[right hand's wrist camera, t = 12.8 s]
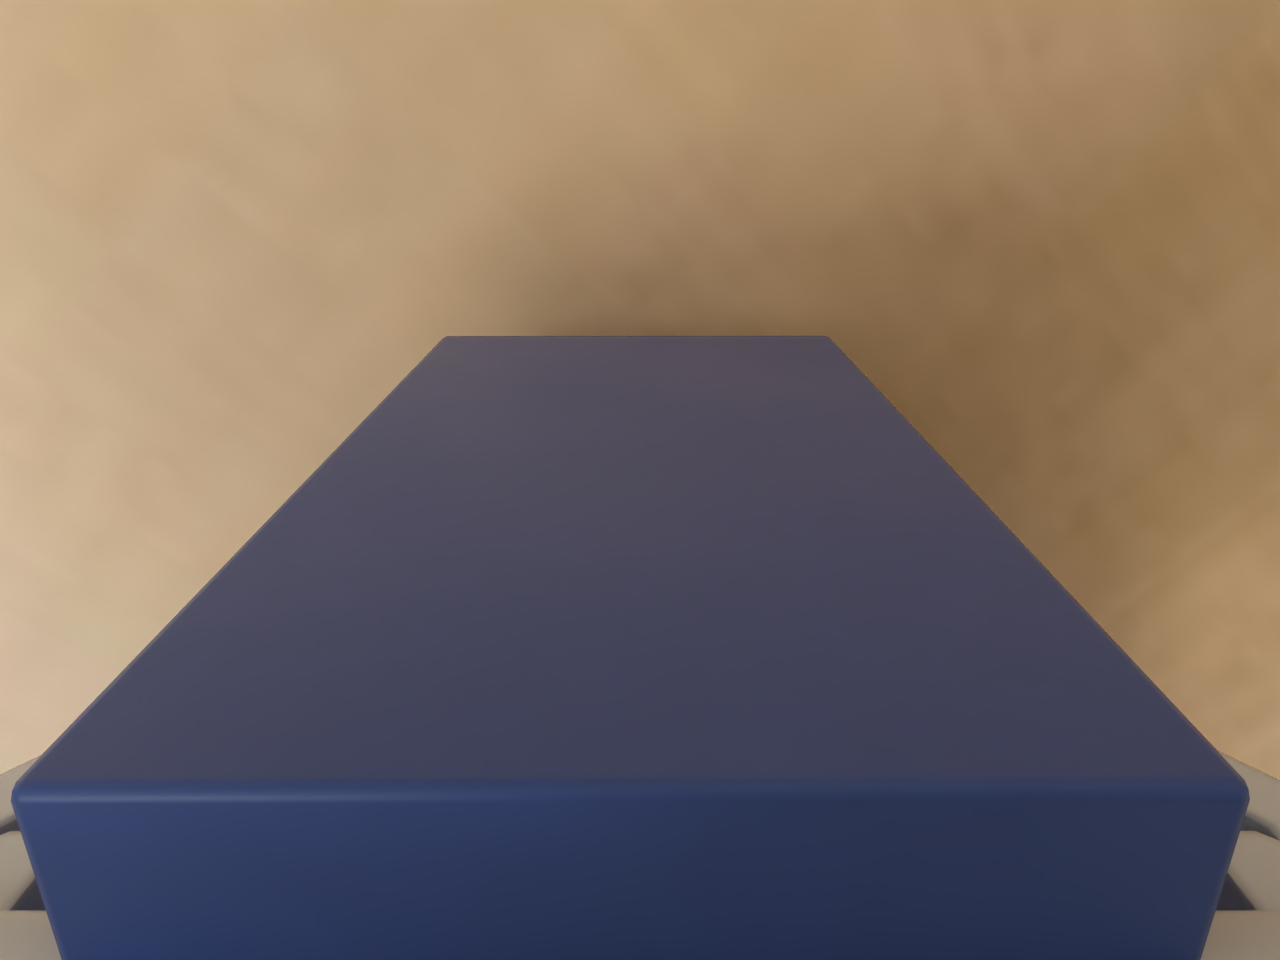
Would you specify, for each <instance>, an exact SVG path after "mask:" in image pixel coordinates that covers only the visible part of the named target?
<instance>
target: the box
mask: <svg viewBox="0 0 1280 960" xmlns="http://www.w3.org/2000/svg"><path fill="white" fill-rule="evenodd" d="M1249 801H1250V796H1249V789H1248V787H1247V784H1246V782H1245V780H1244V779H1243V778H1242V777H1241V776H1240V774H1239V773H1238V772H1237V771H1236V770H1235V769H1234V768H1233V767H1232V766H1231V765H1230V764H1229V763H1228V762H1227V761H1226V760H1225V759H1224V757H1223V756H1222V755H1221V754H1220V753H1219V752H1218V751H1217V750H1216V749H1215V748H1214V747H1213V746H1212V745H1211V744H1210V743H1209V741H1208V740H1207V739H1206V738H1205V737H1204V736H1203V735H1202V734H1201V733H1200V732H1199V731H1198V730H1197V729H1196V728H1195V727H1194V726H1193V724H1192V723H1191V722H1190V721H1189V720H1188V719H1187V718H1186V717H1185V716H1184V715H1183V714H1182V713H1181V712H1180V711H1179V710H1178V708H1177V707H1176V706H1175V705H1174V704H1173V703H1172V702H1171V701H1170V700H1169V699H1168V698H1167V697H1166V696H1165V695H1164V694H1163V692H1162V691H1161V690H1160V689H1159V688H1158V687H1157V686H1156V685H1155V684H1154V683H1153V682H1152V681H1151V680H1150V679H1149V678H1148V677H1147V675H1146V674H1145V673H1144V672H1143V671H1142V670H1141V669H1140V668H1139V667H1138V666H1137V665H1136V664H1135V663H1134V662H1133V661H1132V659H1131V658H1130V657H1129V656H1128V655H1127V654H1126V653H1125V652H1124V651H1123V650H1122V649H1121V648H1120V647H1119V646H1118V645H1117V644H1116V642H1115V641H1114V640H1113V639H1112V638H1111V637H1110V636H1109V635H1108V634H1107V633H1106V632H1105V631H1104V630H1103V629H1102V628H1101V626H1100V625H1099V624H1098V623H1097V622H1096V621H1095V620H1094V619H1093V618H1092V617H1091V616H1090V615H1089V614H1088V613H1087V612H1086V611H1085V609H1084V608H1083V607H1082V606H1081V605H1080V604H1079V603H1078V602H1077V601H1076V600H1075V599H1074V598H1073V597H1072V596H1071V595H1070V593H1069V592H1068V591H1067V590H1066V589H1065V588H1064V587H1063V586H1062V585H1061V584H1060V583H1059V582H1058V581H1057V580H1056V579H1055V578H1054V576H1053V575H1052V574H1051V573H1050V572H1049V571H1048V570H1047V569H1046V568H1045V567H1044V566H1043V565H1042V564H1041V563H1040V562H1039V560H1038V559H1037V558H1036V557H1035V556H1034V555H1033V554H1032V553H1031V552H1030V551H1029V550H1028V549H1027V548H1026V547H1025V546H1024V545H1023V543H1022V542H1021V541H1020V540H1019V539H1018V538H1017V537H1016V536H1015V535H1014V534H1013V533H1012V532H1011V531H1010V530H1009V529H1008V527H1007V526H1006V525H1005V524H1004V523H1003V522H1002V521H1001V520H1000V519H999V518H998V517H997V516H996V515H995V514H994V513H993V512H992V510H991V509H990V508H989V507H988V506H987V505H986V504H985V503H984V502H983V501H982V500H981V499H980V498H979V497H978V496H977V494H976V493H975V492H974V491H973V490H972V489H971V488H970V487H969V486H968V485H967V484H966V483H965V482H964V481H963V480H962V478H961V477H960V476H959V475H958V474H957V473H956V472H955V471H954V470H953V469H952V468H951V467H950V466H949V465H948V464H947V463H946V461H945V460H944V459H943V458H942V457H941V456H940V455H939V454H938V453H937V452H936V451H935V450H934V449H933V448H932V447H931V445H930V444H929V443H928V442H927V441H926V440H925V439H924V438H923V437H922V436H921V435H920V434H919V433H918V432H917V431H916V430H915V428H914V427H913V426H912V425H911V424H910V423H909V422H908V421H907V420H906V419H905V418H904V417H903V416H902V415H901V414H900V412H899V411H898V410H897V409H896V408H895V407H894V406H893V405H892V404H891V403H890V402H889V401H888V400H887V399H886V398H885V397H884V395H883V394H882V393H881V392H880V391H879V390H878V389H877V388H876V387H875V386H874V385H873V384H872V383H871V382H870V381H869V379H868V378H867V377H866V376H865V375H864V374H863V373H862V372H861V371H860V370H859V369H858V368H857V367H856V366H855V365H854V364H853V362H852V361H851V360H850V359H849V358H848V357H847V356H846V355H845V354H844V353H843V352H842V351H841V350H840V349H839V348H838V346H837V345H836V344H835V343H834V342H833V341H832V340H831V339H830V338H829V337H826V336H447V337H445V338H443V339H442V340H441V341H440V342H439V343H438V344H437V345H436V346H435V347H434V348H433V349H432V350H431V351H430V352H429V353H428V355H427V356H426V357H425V358H424V359H423V360H422V361H421V362H420V363H419V364H418V365H417V366H416V367H415V368H414V369H413V370H412V371H411V372H410V373H409V374H408V375H407V376H406V377H405V378H404V379H403V380H402V382H401V383H400V384H399V385H398V386H397V387H396V388H395V389H394V390H393V391H392V392H391V393H390V394H389V395H388V396H387V397H386V398H385V399H384V400H383V401H382V402H381V403H380V404H379V405H378V406H377V407H376V409H375V410H374V411H373V412H372V413H371V414H370V415H369V416H368V417H367V418H366V419H365V420H364V421H363V422H362V423H361V424H360V425H359V426H358V427H357V428H356V429H355V430H354V431H353V432H352V433H351V434H350V436H349V437H348V438H347V439H346V440H345V441H344V442H343V443H342V444H341V445H340V446H339V447H338V448H337V449H336V450H335V451H334V452H333V453H332V454H331V455H330V456H329V457H328V458H327V459H326V460H325V461H324V463H323V464H322V465H321V466H320V467H319V468H318V469H317V470H316V471H315V472H314V473H313V474H312V475H311V476H310V477H309V478H308V479H307V480H306V481H305V482H304V483H303V484H302V485H301V486H300V487H299V488H298V490H297V491H296V492H295V493H294V494H293V495H292V496H291V497H290V498H289V499H288V500H287V501H286V502H285V503H284V504H283V505H282V506H281V507H280V508H279V509H278V510H277V511H276V512H275V513H274V514H273V515H272V517H271V518H270V519H269V520H268V521H267V522H266V523H265V524H264V525H263V526H262V527H261V528H260V529H259V530H258V531H257V532H256V533H255V534H254V535H253V536H252V537H251V538H250V539H249V540H248V541H247V542H246V544H245V545H244V546H243V547H242V548H241V549H240V550H239V551H238V552H237V553H236V554H235V555H234V556H233V557H232V558H231V559H230V560H229V561H228V562H227V563H226V564H225V565H224V566H223V567H222V568H221V569H220V571H219V572H218V573H217V574H216V575H215V576H214V577H213V578H212V579H211V580H210V581H209V582H208V583H207V584H206V585H205V586H204V587H203V588H202V589H201V590H200V591H199V592H198V593H197V594H196V595H195V596H194V598H193V599H192V600H191V601H190V602H189V603H188V604H187V605H186V606H185V607H184V608H183V609H182V610H181V611H180V612H179V613H178V614H177V615H176V616H175V617H174V618H173V619H172V620H171V621H170V622H169V623H168V625H167V626H166V627H165V628H164V629H163V630H162V631H161V632H160V633H159V634H158V635H157V636H156V637H155V638H154V639H153V640H152V641H151V642H150V643H149V644H148V645H147V646H146V647H145V648H144V649H143V650H142V652H141V653H140V654H139V655H138V656H137V657H136V658H135V659H134V660H133V661H132V662H131V663H130V664H129V665H128V666H127V667H126V668H125V669H124V670H123V671H122V672H121V673H120V674H119V675H118V676H117V677H116V679H115V680H114V681H113V682H112V683H111V684H110V685H109V686H108V687H107V688H106V689H105V690H104V691H103V692H102V693H101V694H100V695H99V696H98V697H97V698H96V699H95V700H94V701H93V702H92V703H91V704H90V706H89V707H88V708H87V709H86V710H85V711H84V712H83V713H82V714H81V715H80V716H79V717H78V718H77V719H76V720H75V721H74V722H73V723H72V724H71V725H70V726H69V727H68V728H67V729H66V730H65V731H64V733H63V734H62V735H61V736H60V737H59V738H58V739H57V740H56V741H55V742H54V743H53V744H52V745H51V746H50V747H49V748H48V749H47V750H46V751H45V752H44V753H43V754H42V755H41V756H40V757H39V758H38V760H37V761H36V762H35V763H34V764H33V765H32V766H31V767H30V768H29V769H28V770H27V771H26V772H25V773H24V774H23V775H22V776H21V777H20V778H19V779H18V780H17V781H16V783H15V785H14V788H13V790H12V795H11V804H12V807H13V810H14V813H15V816H16V819H17V822H18V825H19V829H20V832H21V835H22V838H23V841H24V844H25V847H26V850H27V853H28V857H29V860H30V863H31V866H32V869H33V872H34V875H35V878H36V881H37V885H38V888H39V891H40V894H41V897H42V900H43V903H44V906H45V909H46V913H47V916H48V919H49V922H50V925H51V928H52V931H53V934H54V937H55V941H56V944H57V947H58V950H59V953H60V956H61V959H62V960H1200V959H1201V956H1202V953H1203V950H1204V946H1205V943H1206V940H1207V937H1208V934H1209V930H1210V927H1211V924H1212V921H1213V917H1214V914H1215V911H1216V908H1217V904H1218V901H1219V898H1220V895H1221V892H1222V888H1223V885H1224V882H1225V879H1226V875H1227V872H1228V869H1229V866H1230V862H1231V859H1232V856H1233V853H1234V850H1235V846H1236V843H1237V840H1238V837H1239V833H1240V830H1241V827H1242V824H1243V820H1244V817H1245V814H1246V811H1247V808H1248V804H1249Z"/></svg>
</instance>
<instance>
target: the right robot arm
mask: <svg viewBox="0 0 1280 960" xmlns="http://www.w3.org/2000/svg"><path fill="white" fill-rule="evenodd" d="M1218 752H1219V751H1218ZM1219 753H1220V754H1221V755H1222V756H1223V757H1224V759H1225V760H1226V761H1227V762H1228V763H1229V764H1230V765H1231V766H1232V767H1233V768H1234V769H1235V770H1236V771H1237V772H1238V773H1239V774H1240V776H1241V777H1242V778H1243V779H1244V780H1245V782H1246V784H1247V787H1248V789H1249V796H1250V801H1249V804H1248V808H1247V811H1246V814H1245V817H1244V820H1243V824H1242V827H1241V830H1240V833H1239V837H1238V840H1237V843H1236V846H1235V850H1234V853H1233V856H1232V859H1231V862H1230V866H1229V869H1228V872H1227V875H1226V879H1225V882H1224V885H1223V888H1222V892H1221V895H1220V898H1219V901H1218V904H1217V908H1216V911H1215V914H1214V917H1213V921H1212V924H1211V927H1210V930H1209V934H1208V937H1207V940H1206V943H1205V946H1204V950H1203V953H1202V956H1201V959H1200V960H1280V780H1278V779H1276V778H1273V777H1271V776H1269V775H1267V774H1265V773H1263V772H1261V771H1259V770H1257V769H1255V768H1253V767H1251V766H1248V765H1246V764H1244V763H1242V762H1240V761H1238V760H1236V759H1234V758H1232V757H1230V756H1228V755H1226V754H1223V753H1221V752H1219ZM39 757H40V756H39ZM39 757H37V758H35V759H32V760H30V761H28V762H26V763H24V764H22V765H20V766H18V767H16V768H13V769H11V770H9V771H7V772H5V773H3V774H1V775H0V960H62V959H61V956H60V953H59V950H58V947H57V944H56V941H55V937H54V934H53V931H52V928H51V925H50V922H49V919H48V916H47V913H46V909H45V906H44V903H43V900H42V897H41V894H40V891H39V888H38V885H37V881H36V878H35V875H34V872H33V869H32V866H31V863H30V860H29V857H28V853H27V850H26V847H25V844H24V841H23V838H22V835H21V832H20V829H19V825H18V822H17V819H16V816H15V813H14V810H13V807H12V804H11V795H12V790H13V788H14V785H15V783H16V781H17V780H18V779H19V778H20V777H21V776H22V775H23V774H24V773H25V772H26V771H27V770H28V769H29V768H30V767H31V766H32V765H33V764H34V763H35V762H36V761H37V760H38V758H39Z"/></svg>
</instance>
